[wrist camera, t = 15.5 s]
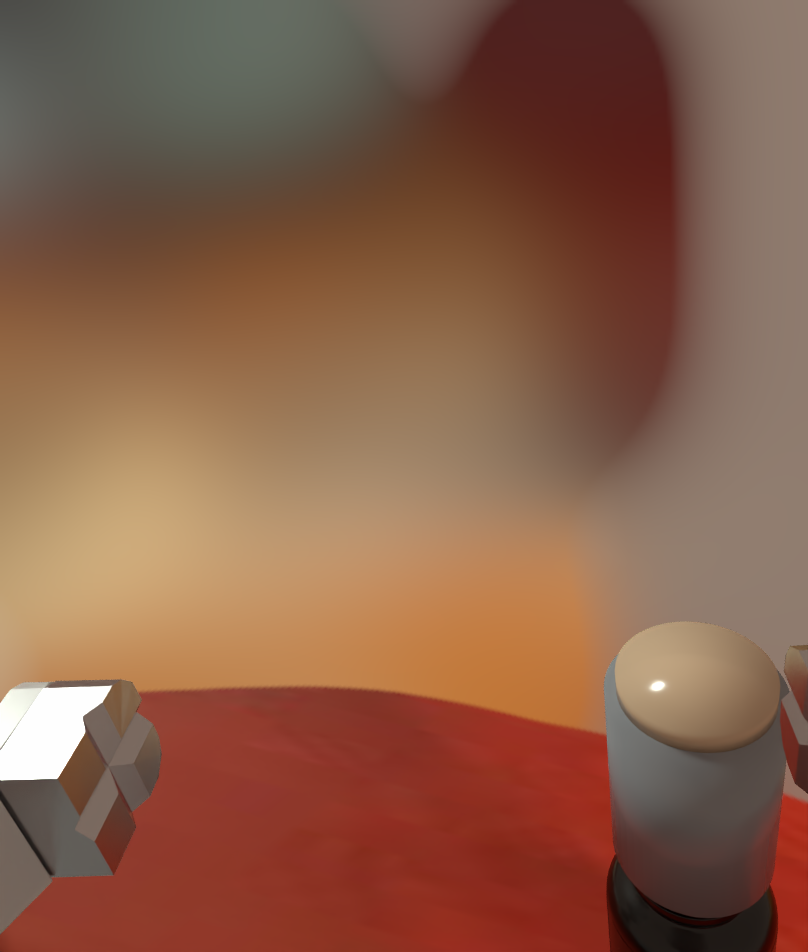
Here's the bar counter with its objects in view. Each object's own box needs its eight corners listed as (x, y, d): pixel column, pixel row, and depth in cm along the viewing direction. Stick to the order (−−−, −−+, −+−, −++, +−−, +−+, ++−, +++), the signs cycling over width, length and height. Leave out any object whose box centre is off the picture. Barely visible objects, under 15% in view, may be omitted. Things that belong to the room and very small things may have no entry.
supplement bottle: (800, 1016, 35) (826, 853, 29) (698, 1124, 32) (704, 968, 26) (678, 900, 40) (680, 743, 35) (582, 985, 38) (566, 829, 32)
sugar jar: (622, 917, 28) (614, 748, 24) (604, 779, 34) (594, 619, 29) (796, 919, 27) (822, 743, 23) (750, 776, 32) (763, 609, 28)
